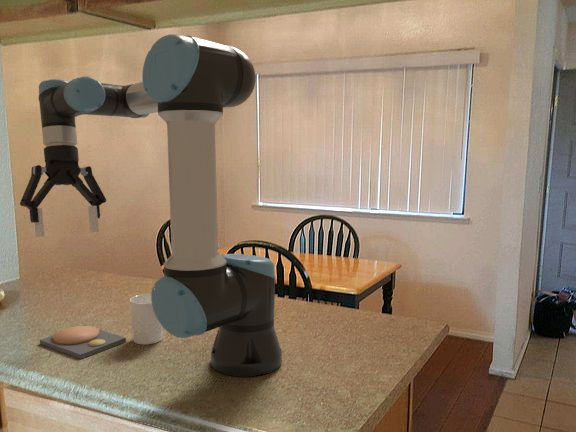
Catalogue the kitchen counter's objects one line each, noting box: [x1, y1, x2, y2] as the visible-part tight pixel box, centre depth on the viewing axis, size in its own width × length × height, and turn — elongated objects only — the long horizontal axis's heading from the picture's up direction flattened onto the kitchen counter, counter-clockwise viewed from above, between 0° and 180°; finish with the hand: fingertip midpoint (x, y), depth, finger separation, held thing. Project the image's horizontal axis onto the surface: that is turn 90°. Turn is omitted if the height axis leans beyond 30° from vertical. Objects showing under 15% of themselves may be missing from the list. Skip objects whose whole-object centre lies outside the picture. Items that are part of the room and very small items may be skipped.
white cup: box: [129, 293, 164, 346], centre depth 121 cm, size 8×8×10 cm
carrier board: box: [39, 324, 127, 360], centre depth 119 cm, size 15×12×2 cm
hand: (68, 234), depth 124 cm, fingers open, 13 cm apart
